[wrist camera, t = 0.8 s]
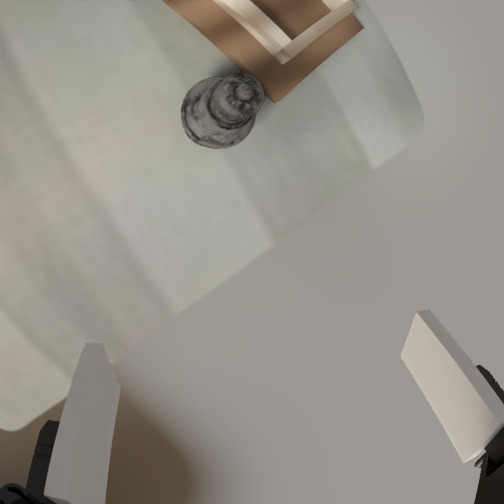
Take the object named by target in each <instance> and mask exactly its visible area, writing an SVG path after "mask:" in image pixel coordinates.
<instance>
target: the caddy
mask: <svg viewBox="0 0 504 504" xmlns="http://www.w3.org/2000/svg"><path fill="white" fill-rule="evenodd" d="M163 1H164V2H165V3H166V4H167V5H169V6H170V7H171V8H172V9H174V10H175V11H176V12H177V13H178V14H180V15H181V16H182V17H183V18H185V19H186V20H187V21H188V22H189V23H190V24H192V25H193V26H194V27H195V28H196V29H197V30H199V31H200V32H201V33H202V34H203V35H204V36H205V37H207V38H208V39H209V40H210V41H211V42H212V43H213V44H214V45H216V46H217V47H218V48H219V49H220V50H221V51H222V52H223V53H224V54H225V55H226V56H227V57H229V58H230V59H231V60H232V61H233V62H234V63H235V64H236V65H237V66H238V67H239V68H240V69H241V70H242V71H243V72H244V73H246V74H250V75H251V76H253V77H255V78H256V79H257V80H258V81H259V82H260V84H261V85H262V88H263V91H264V93H265V94H266V95H267V96H268V97H269V98H270V99H271V100H272V101H273V102H274V103H276V102H278V101H280V100H281V99H282V98H283V97H284V96H285V95H286V94H287V93H288V92H290V91H291V90H292V89H293V88H294V87H295V86H296V85H297V84H298V83H299V82H301V81H302V80H303V79H304V78H305V77H306V76H307V75H308V74H310V73H311V72H312V71H313V70H314V69H315V68H316V67H318V66H319V65H320V64H321V63H322V62H323V61H325V60H326V59H327V58H328V57H329V56H330V55H332V54H333V53H334V52H335V51H336V50H338V49H339V48H340V47H341V46H342V45H344V44H345V43H346V42H347V41H348V40H350V39H351V38H352V37H353V36H355V35H356V34H357V33H358V32H360V31H361V30H362V29H363V28H364V27H363V26H362V25H361V24H360V23H359V22H358V20H357V19H356V18H355V17H354V16H353V15H352V14H351V13H352V12H353V11H354V10H356V9H357V8H359V7H358V6H357V5H356V4H355V3H354V2H353V1H352V0H163Z"/></svg>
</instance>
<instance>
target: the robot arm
mask: <svg viewBox="0 0 504 504" xmlns="http://www.w3.org/2000/svg"><path fill="white" fill-rule="evenodd" d="M401 358H402V360H403V361H404V363H405V364H406V366H407V367H408V369H409V371H410V372H411V374H412V376H413V377H414V379H415V380H416V382H417V383H418V385H419V387H420V388H421V390H422V392H423V393H424V395H425V397H426V398H427V400H428V402H429V403H430V405H431V407H432V408H433V410H434V412H435V413H436V415H437V417H438V418H439V420H440V422H441V424H442V425H443V427H444V429H445V431H446V432H447V434H448V436H449V438H450V440H451V441H452V443H453V445H454V446H455V449H456V450H457V452H458V454H459V456H460V458H461V459H462V461H463V463H465V462H467V461H469V460H470V459H472V458H474V457H475V456H477V455H478V454H479V453H480V452H481V451H482V450H483V449H485V450H486V453H485V454H484V455H483V456H482V457H481V458H480V459H479V460H478V461H477V462H476V463H475V466H474V467H477V466H478V465H479V464H480V463H481V462H482V461H483V462H482V464H481V465H480V467H479V468H481V474H480V479H479V484H478V489H477V493H476V498H475V502H474V504H504V391H503V390H502V389H501V388H500V386H499V384H498V383H497V382H495V379H494V378H493V376H492V375H491V374H490V372H489V371H488V370H486V369H485V368H483V367H482V366H481V365H478V366H475V365H474V364H473V362H472V361H471V360H470V358H469V357H468V356H467V355H466V353H465V352H464V351H463V350H462V348H461V347H460V346H459V345H458V343H457V342H456V341H455V340H454V338H453V337H452V336H451V335H450V333H449V332H448V331H447V330H446V329H445V327H444V326H443V325H442V324H441V323H440V322H439V320H438V319H437V318H436V317H435V316H434V314H433V313H432V312H431V311H430V310H424V311H419V312H416V314H415V317H414V320H413V323H412V326H411V329H410V332H409V334H408V337H407V340H406V343H405V345H404V348H403V350H402V353H401ZM120 389H121V387H120V385H119V383H118V380H117V378H116V375H115V373H114V371H113V369H112V366H111V364H110V361H109V359H108V356H107V354H106V351H105V349H104V346H103V343H85V345H84V348H83V351H82V354H81V356H80V359H79V362H78V365H77V368H76V371H75V374H74V377H73V380H72V383H71V386H70V390H69V393H68V396H67V399H66V403H65V406H64V410H63V413H62V417H61V420H60V422H59V421H51V420H48V421H47V422H46V424H45V425H44V426H43V428H42V429H41V430H40V434H39V437H38V441H37V445H36V448H35V451H34V452H35V455H33V459H32V463H31V467H30V472H29V476H28V480H27V485H26V489H24V488H23V487H21V486H20V485H18V484H13V483H10V484H6V485H4V486H3V487H2V488H1V489H0V504H105V496H106V486H107V476H108V468H109V460H110V452H111V444H112V437H113V431H114V424H115V418H116V412H117V406H118V400H119V395H120Z"/></svg>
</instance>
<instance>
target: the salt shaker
mask: <svg viewBox="0 0 504 504" xmlns="http://www.w3.org/2000/svg"><path fill="white" fill-rule="evenodd" d="M263 100H264V91H263V88H262V85H261V84H260V82H259V81H258V80H257V79H256V78H255V77H253V76H251V75H250V74H246V73H235V74H231V75H229V76H227V77H225V78H224V77H212V78H208V79H205V80H202V81H201V82H199V83H197V84H196V85H194V86H193V87H192V88H191V89H190V90H189V91H188V93H187V95H186V96H185V98H184V100H183V104H182V108H181V118H182V125H183V128H184V131H185V133H186V134H187V135H188V137H189V138H190V139H191V140H192V141H194V142H195V143H197V144H199V145H201V146H205V147H209V148H214V149H222V148H228V147H231V146H234V145H236V144H238V143H239V142H241V141H242V140H244V139H245V138H246V137H247V135H248V134H249V133H250V131H251V129H252V128H253V126H254V122H255V117H256V113H257V112H258V111H259V110H260V108H261V106H262V104H263Z"/></svg>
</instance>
